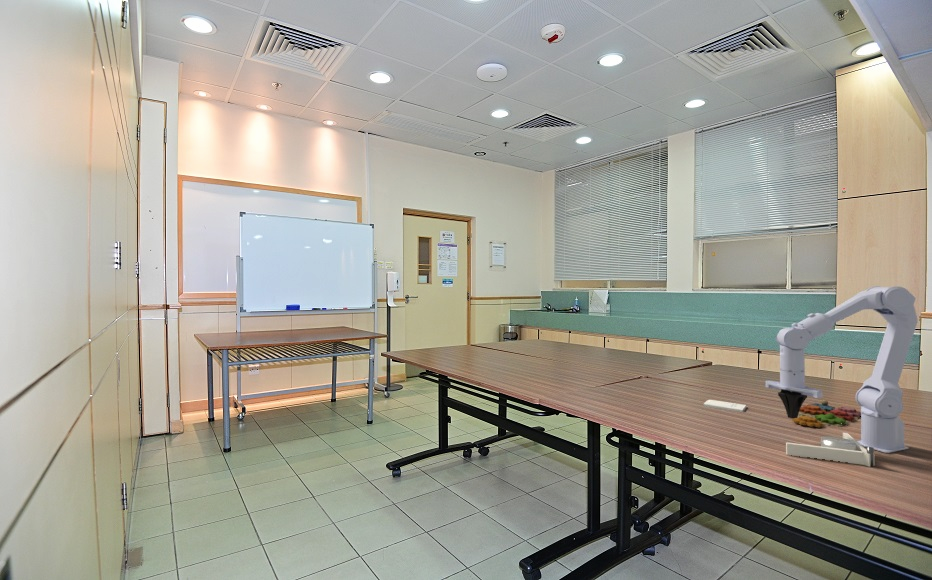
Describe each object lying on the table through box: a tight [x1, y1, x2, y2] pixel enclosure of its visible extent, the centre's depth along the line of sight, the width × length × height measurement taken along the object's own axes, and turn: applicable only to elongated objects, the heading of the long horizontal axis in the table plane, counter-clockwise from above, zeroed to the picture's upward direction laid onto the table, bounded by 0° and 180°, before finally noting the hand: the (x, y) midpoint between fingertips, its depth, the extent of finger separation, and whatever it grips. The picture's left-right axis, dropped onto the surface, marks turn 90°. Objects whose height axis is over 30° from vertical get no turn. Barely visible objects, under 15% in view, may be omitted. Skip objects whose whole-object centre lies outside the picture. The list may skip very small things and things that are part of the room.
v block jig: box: [785, 432, 875, 468], centre depth 115 cm, size 24×13×4 cm, turn 109°
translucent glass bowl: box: [820, 435, 856, 451], centre depth 116 cm, size 7×7×4 cm
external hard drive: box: [703, 399, 748, 413], centre depth 163 cm, size 2×8×12 cm
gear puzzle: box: [791, 399, 861, 428], centre depth 149 cm, size 31×16×4 cm, turn 123°
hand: (792, 417), depth 127 cm, fingers closed
